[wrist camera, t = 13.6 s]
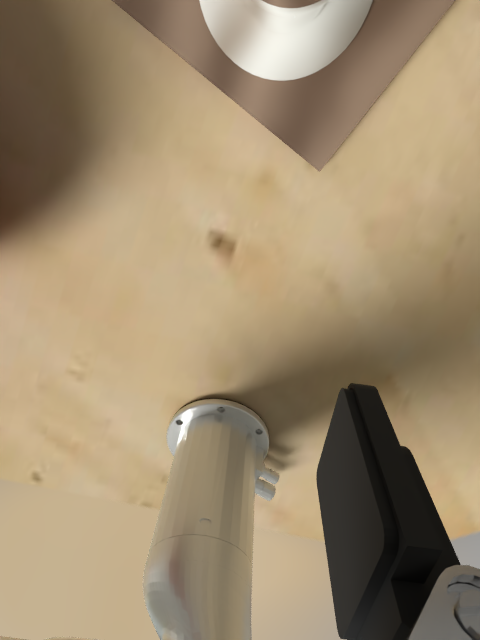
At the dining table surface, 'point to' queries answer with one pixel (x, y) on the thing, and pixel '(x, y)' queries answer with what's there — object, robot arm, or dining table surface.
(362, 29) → the walnut board
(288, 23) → the silver metal tumbler
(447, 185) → the dining table surface
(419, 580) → the robot arm
